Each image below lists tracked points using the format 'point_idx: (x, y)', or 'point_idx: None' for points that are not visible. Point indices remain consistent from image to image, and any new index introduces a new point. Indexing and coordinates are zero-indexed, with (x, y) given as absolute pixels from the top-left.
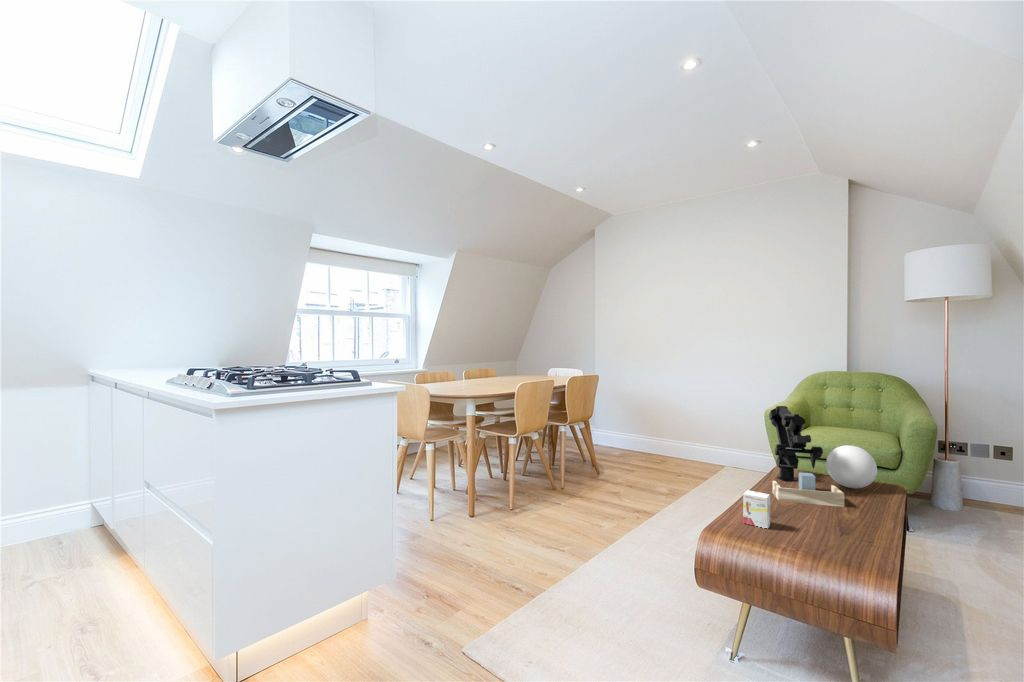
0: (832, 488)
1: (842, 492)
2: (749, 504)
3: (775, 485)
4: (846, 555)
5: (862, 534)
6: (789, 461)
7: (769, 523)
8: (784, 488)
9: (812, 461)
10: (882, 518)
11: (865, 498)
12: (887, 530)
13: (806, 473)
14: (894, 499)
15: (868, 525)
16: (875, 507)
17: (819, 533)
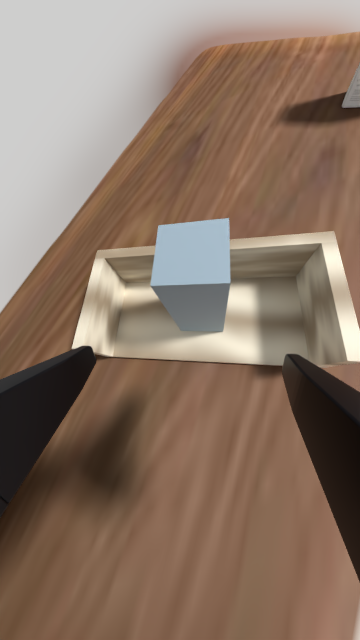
0: (91, 334)
1: (95, 262)
2: None
3: (344, 293)
4: (227, 75)
5: (166, 146)
6: (328, 381)
7: (347, 91)
8: (307, 234)
9: (33, 394)
10: (79, 236)
11: None
12: (112, 179)
13: (184, 272)
14: None
15: (131, 188)
16: (41, 309)
17: (242, 119)
